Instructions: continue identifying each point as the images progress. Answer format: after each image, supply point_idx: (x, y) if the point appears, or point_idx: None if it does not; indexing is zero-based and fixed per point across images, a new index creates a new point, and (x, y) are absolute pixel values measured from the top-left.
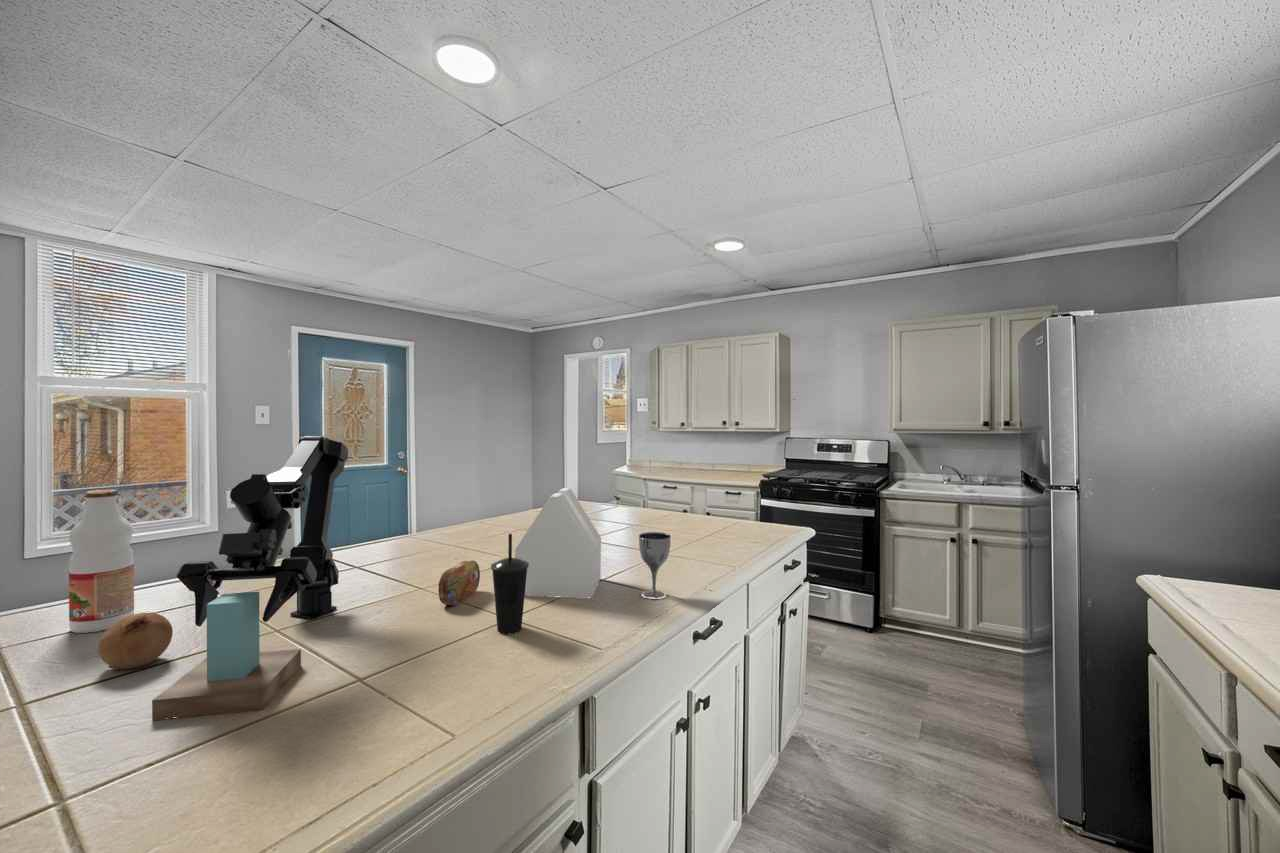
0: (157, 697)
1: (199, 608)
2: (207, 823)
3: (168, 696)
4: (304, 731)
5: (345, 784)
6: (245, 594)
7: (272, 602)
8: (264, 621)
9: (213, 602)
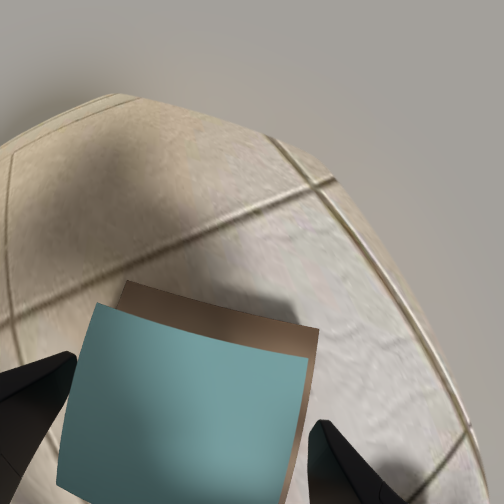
0: (314, 336)
1: (349, 462)
2: (181, 118)
3: (296, 332)
4: (93, 205)
5: (91, 124)
6: (116, 476)
7: (16, 372)
8: (76, 364)
9: (279, 386)
